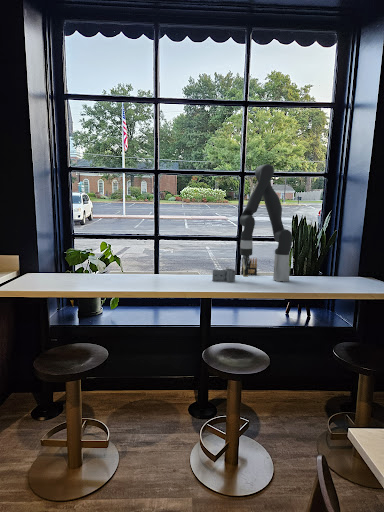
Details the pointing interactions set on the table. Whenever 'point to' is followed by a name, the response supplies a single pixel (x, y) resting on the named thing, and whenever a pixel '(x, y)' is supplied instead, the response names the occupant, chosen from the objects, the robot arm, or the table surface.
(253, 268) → the ammunition clip
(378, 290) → the table surface
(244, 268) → the hinge pin
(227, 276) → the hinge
